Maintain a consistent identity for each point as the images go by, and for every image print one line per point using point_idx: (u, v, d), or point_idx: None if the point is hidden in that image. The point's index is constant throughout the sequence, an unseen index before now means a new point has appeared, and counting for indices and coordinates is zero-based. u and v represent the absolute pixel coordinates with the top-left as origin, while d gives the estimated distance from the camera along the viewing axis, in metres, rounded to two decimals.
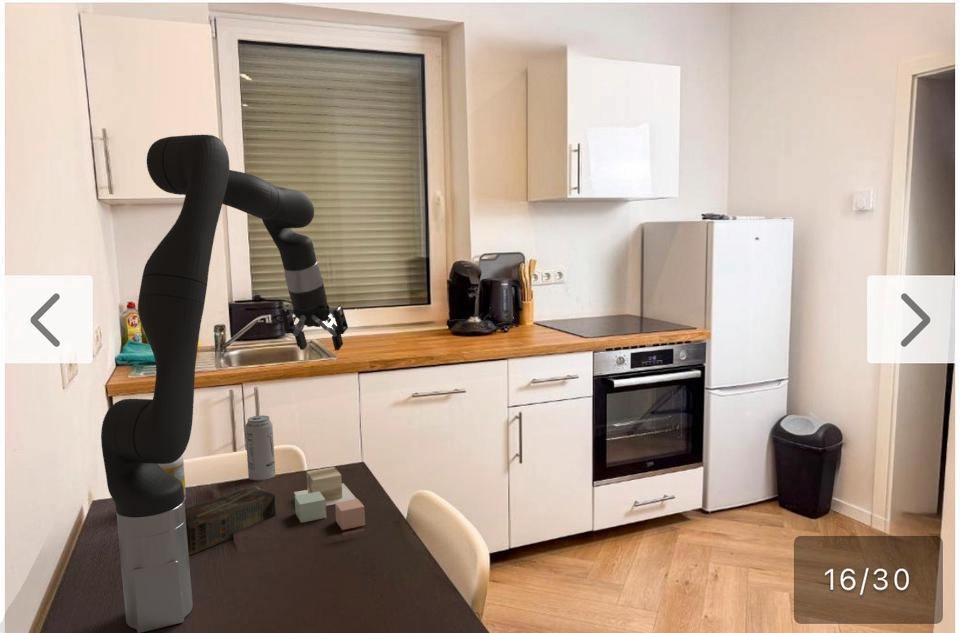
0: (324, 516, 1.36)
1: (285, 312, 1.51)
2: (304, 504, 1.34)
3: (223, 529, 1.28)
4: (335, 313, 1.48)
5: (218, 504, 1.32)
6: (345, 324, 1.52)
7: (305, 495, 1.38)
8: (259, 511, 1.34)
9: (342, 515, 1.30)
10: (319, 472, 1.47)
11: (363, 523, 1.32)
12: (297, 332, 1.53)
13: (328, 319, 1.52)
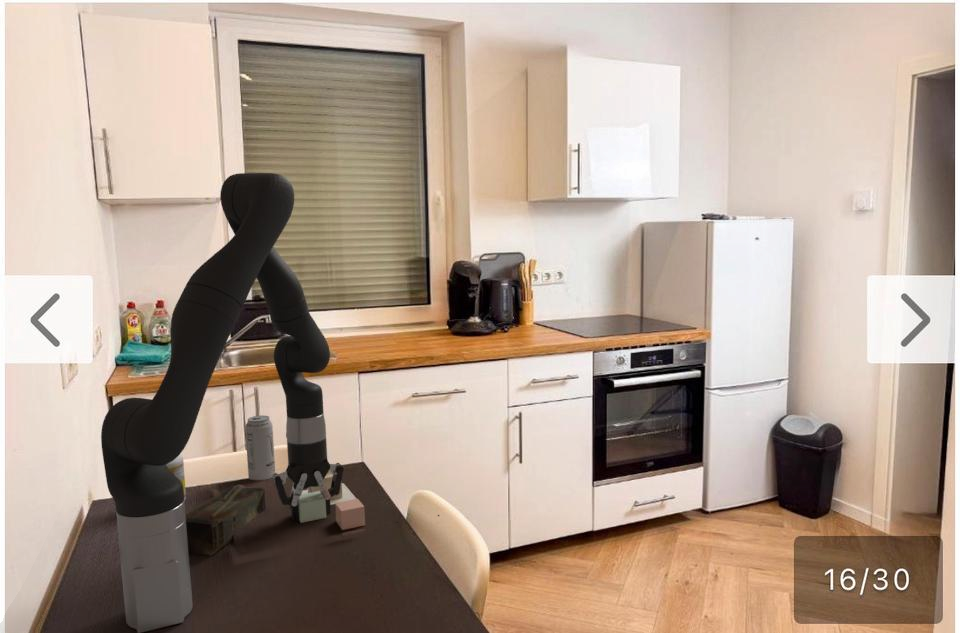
0: (324, 516, 1.36)
1: (280, 479, 1.32)
2: (304, 504, 1.33)
3: (234, 526, 1.29)
4: (340, 470, 1.37)
5: (218, 504, 1.32)
6: None
7: (305, 495, 1.38)
8: (255, 506, 1.37)
9: (342, 515, 1.30)
10: None
11: (363, 523, 1.32)
12: (297, 501, 1.34)
13: None
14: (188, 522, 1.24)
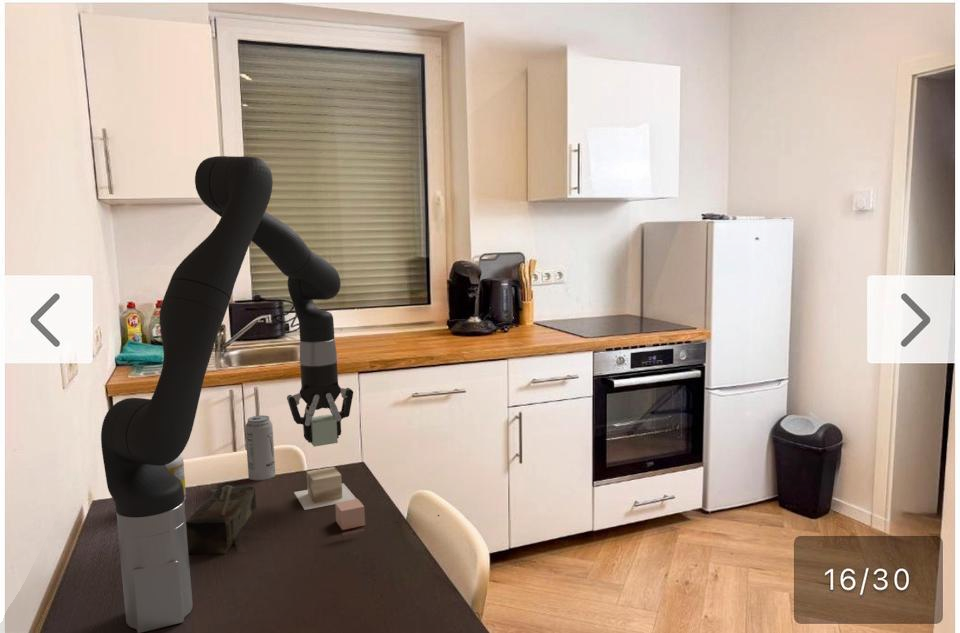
0: (335, 435, 1.44)
1: (293, 399, 1.41)
2: (316, 423, 1.42)
3: (239, 524, 1.30)
4: (350, 393, 1.46)
5: (218, 504, 1.32)
6: None
7: (317, 417, 1.46)
8: (249, 504, 1.38)
9: (342, 515, 1.30)
10: (319, 472, 1.47)
11: (363, 523, 1.32)
12: (310, 421, 1.43)
13: None
14: (199, 522, 1.23)
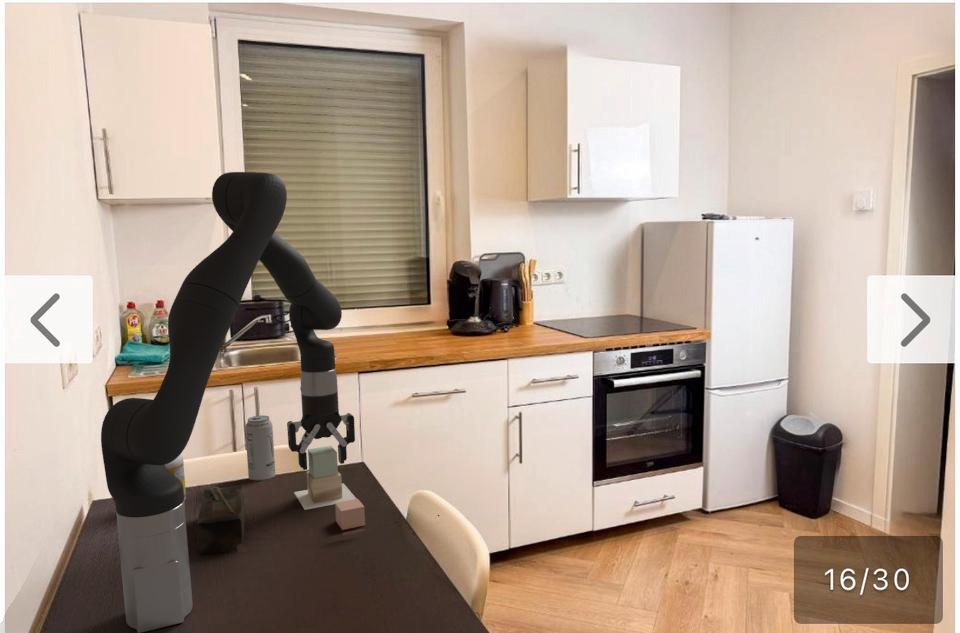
0: (335, 468, 1.45)
1: (294, 426, 1.42)
2: (317, 456, 1.43)
3: None
4: (351, 419, 1.47)
5: (219, 504, 1.32)
6: None
7: (318, 449, 1.47)
8: None
9: (342, 515, 1.30)
10: None
11: (363, 523, 1.32)
12: (305, 448, 1.43)
13: None
14: (213, 522, 1.24)
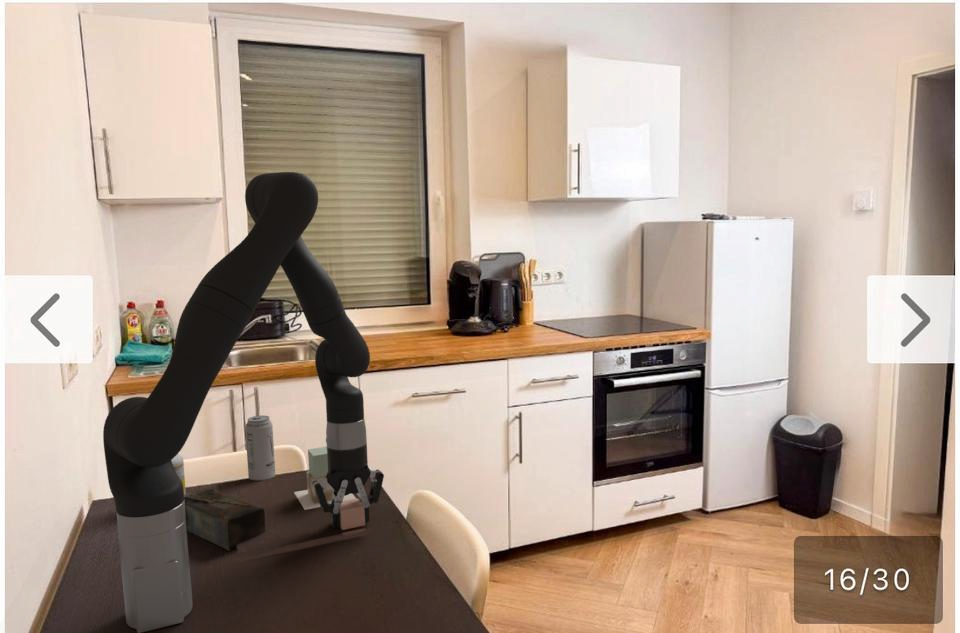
0: None
1: (320, 486, 1.28)
2: (317, 456, 1.43)
3: None
4: (380, 477, 1.33)
5: (219, 504, 1.32)
6: None
7: (318, 449, 1.47)
8: None
9: (342, 515, 1.30)
10: None
11: (363, 523, 1.32)
12: (339, 508, 1.30)
13: None
14: (241, 515, 1.26)
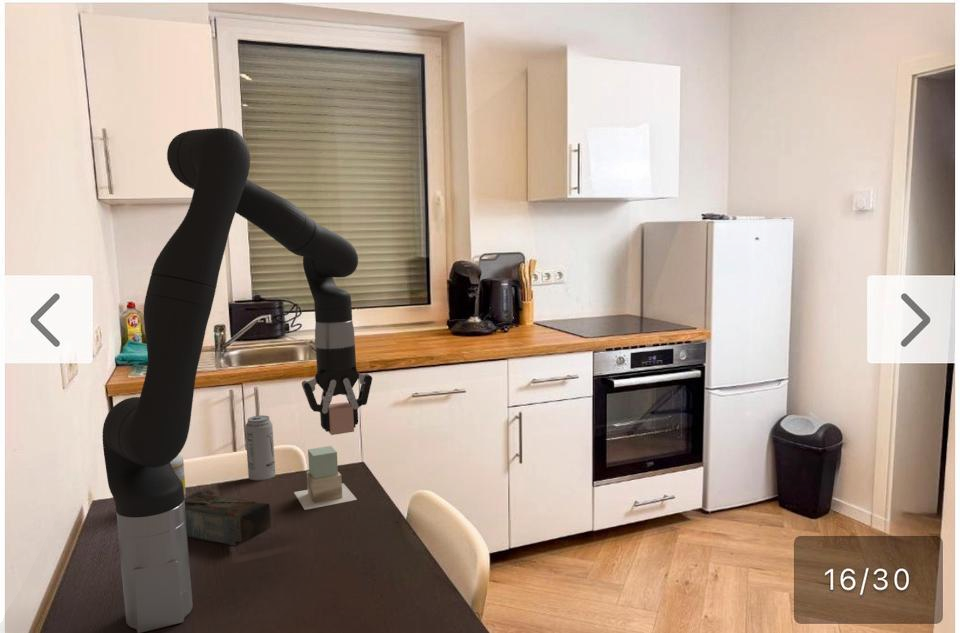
0: (335, 468, 1.45)
1: (309, 385, 1.31)
2: (317, 456, 1.43)
3: None
4: (369, 379, 1.36)
5: (220, 504, 1.32)
6: None
7: (318, 449, 1.47)
8: None
9: (331, 414, 1.32)
10: None
11: (352, 423, 1.34)
12: (328, 408, 1.33)
13: None
14: (251, 511, 1.28)
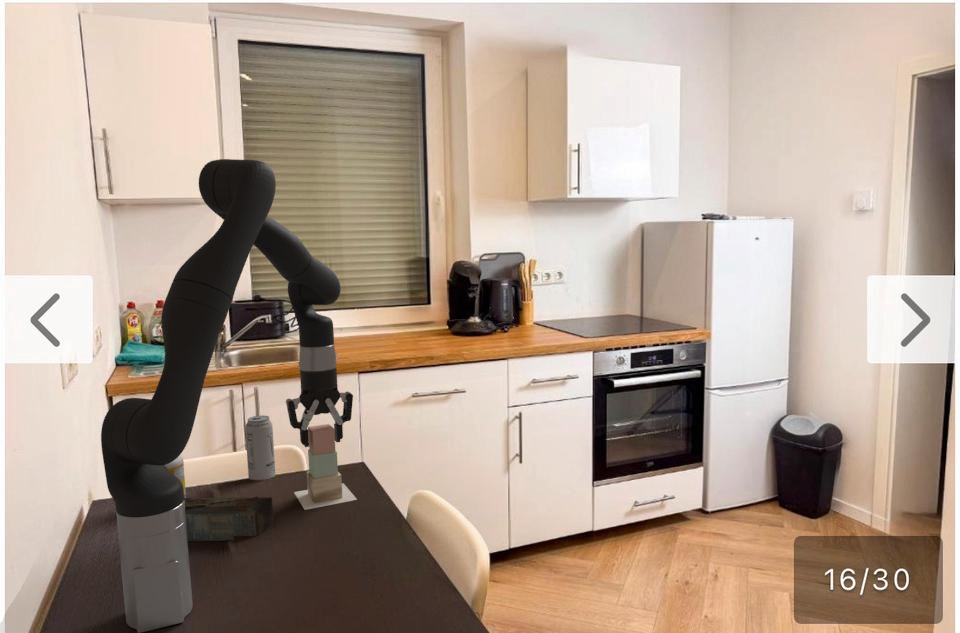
0: (336, 468, 1.45)
1: (293, 403, 1.41)
2: (317, 456, 1.43)
3: None
4: (350, 397, 1.46)
5: (220, 504, 1.32)
6: None
7: None
8: None
9: (314, 436, 1.42)
10: None
11: (333, 444, 1.44)
12: (307, 425, 1.43)
13: None
14: (261, 505, 1.30)
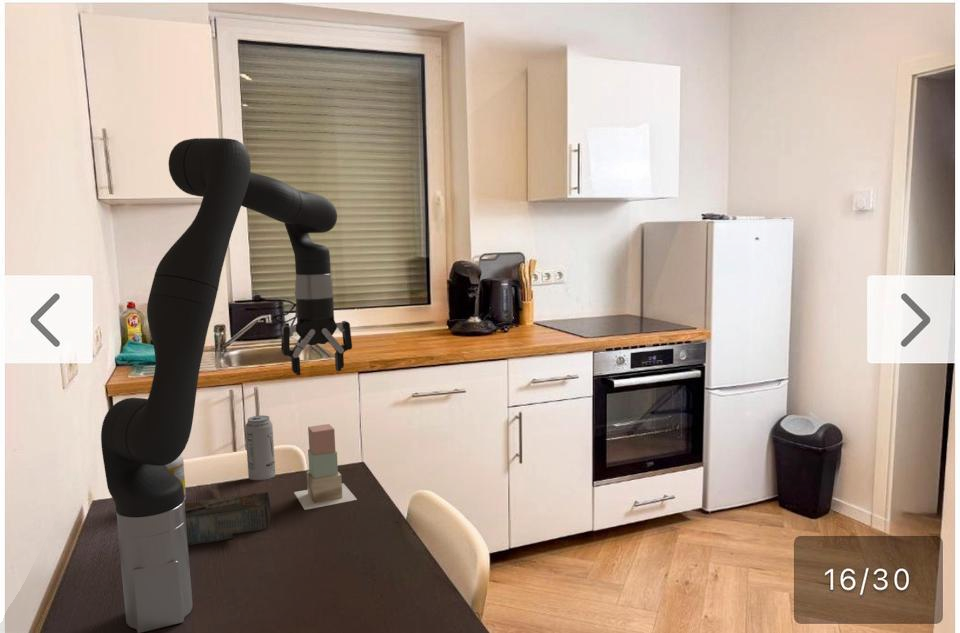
0: (336, 468, 1.45)
1: (288, 329, 1.39)
2: (317, 456, 1.43)
3: None
4: (346, 325, 1.44)
5: (220, 504, 1.32)
6: None
7: None
8: None
9: (314, 436, 1.42)
10: None
11: (333, 444, 1.44)
12: (298, 353, 1.40)
13: None
14: (266, 499, 1.33)
